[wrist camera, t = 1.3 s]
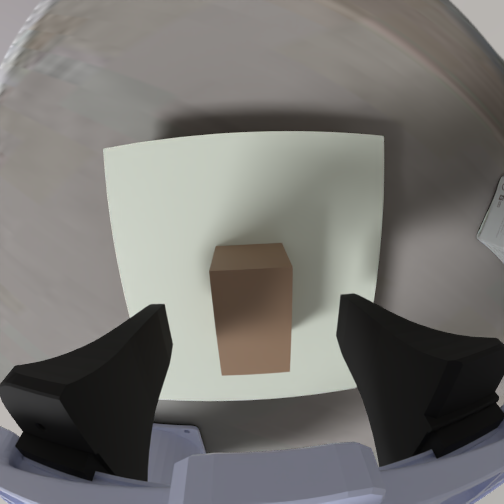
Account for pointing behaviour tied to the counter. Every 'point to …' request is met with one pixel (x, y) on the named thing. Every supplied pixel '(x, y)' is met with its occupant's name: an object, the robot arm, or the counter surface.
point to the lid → (248, 253)
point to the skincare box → (494, 224)
